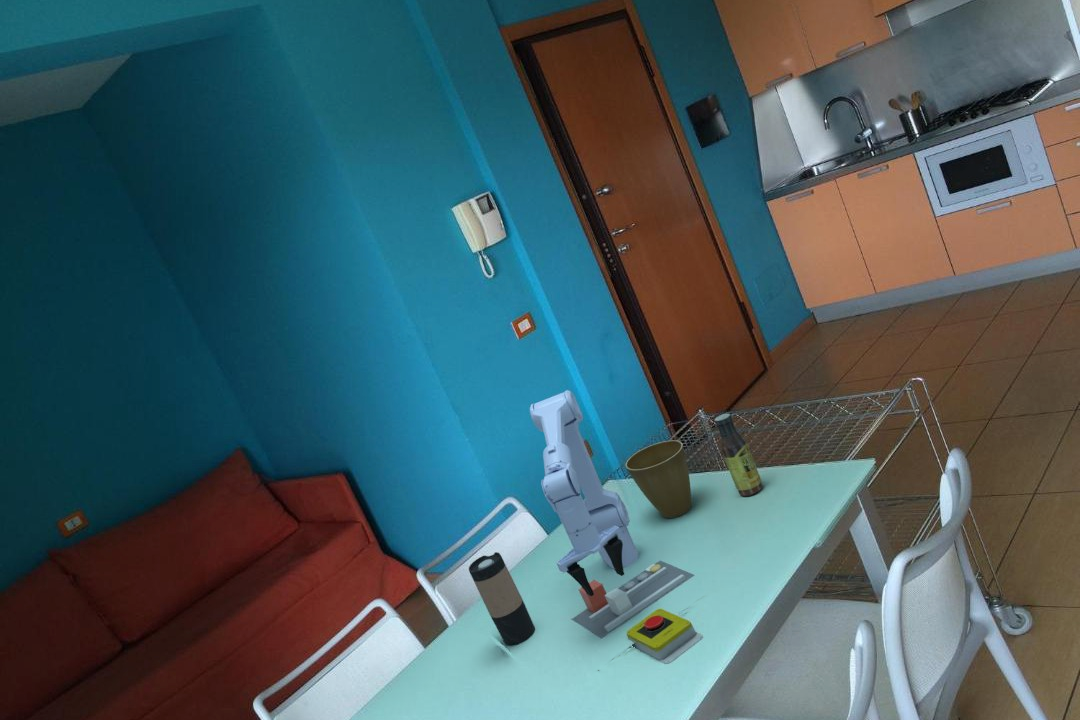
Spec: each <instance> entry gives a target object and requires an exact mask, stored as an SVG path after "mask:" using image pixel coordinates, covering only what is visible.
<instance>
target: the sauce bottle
mask: <svg viewBox="0 0 1080 720" xmlns="http://www.w3.org/2000/svg"><path fill="white" fill-rule="evenodd" d="M714 423H715V425H716V427H717V429H718V431H719V434H720V436H721V438H720V445H719V446H720V450H721V453H722V455H723V458H724V460H725V463H726V466H727V468H728V471H729V473H730V476H731V479H732V481H733V484H734V485H735V489H736V490H737V491H738V494H739V495H740V496H742V497H749V496H753V495H755V494H757V493H758V492H760V491H761V490H762V489H763V483H762V478H761V476H760V473H759V470H758V468H757V465H756V463H755V461H754V458H753V455H752V453H751V451H750V447H749V446H748V445H749V444H748V443H747V441H746V440H745V439H744V438H743V437H742V435H741V434H740V433H739V431H737V429H736V427H735V424H734V422H733V417H732V415H731V414H730V413H722V414H721V415H718V416H716V417H715V419H714Z"/></svg>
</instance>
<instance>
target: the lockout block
mask: <svg viewBox="0 0 1080 720" xmlns="http://www.w3.org/2000/svg"><path fill="white" fill-rule="evenodd" d="M588 582H589V581H588ZM589 584H590V586H591V588H592V590H593V593H594V595H593V596H590V595H588V594H587V593H586V592H585V590H584V589H583V588H582V587H580V588H579V589H578V591H579V593H580V596H581V598H582V600H583V602H584V604H585V606H586V607H585V608H586V609H588V610H589V611H591V612H593V613H595V612H597V611H598V610H600V609H601V608H603V607H605V606H606V605H608V602H607V600H606V598H605V595H606V594H607V593H608V592H607V591H606V589H605V587H604V585H603V583H601V582H599V581H597V580H595V579H592V580H591V581H590V582H589Z"/></svg>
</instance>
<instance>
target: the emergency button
mask: <svg viewBox="0 0 1080 720" xmlns="http://www.w3.org/2000/svg"><path fill="white" fill-rule="evenodd" d="M625 633H626V637H627V639H628V640H630V641H631V642H633V643H632V644H631V645H632V646H633V647H632V646H631V647H632V648H634V647H635V648H634V649H635V650H638V651H639V650H640V652H641V651H642V653H643V654H645V653H646V654H645V655H647V656H649V657H651V658H653V659H655V660H657V661H658V662H660V663H662V664H664V665H665V664H666V665H668V664H671V663H673V662H674V661H675V660H677V659H678V658H679V657H680V656H682V655H683V654H685V653H686V652H688V651H689V650H691V648H693V647H694V646H695V645H696V644H697V643H699V642H700V641H702V640H703V638H704V635H703V634H701V633H699V632H697V631H696V630H695V628H694V626H693V624H692V623H691V621H690V620H688V619H686V618H684V617H681V616H679V615H677V614H675V613H672V612H670V611H667V610H665V609H664V608H657V609H656V610H654V611H653V612H652V613H650V614H648V615H647V616H646V617H644V618H643V619H642V620H640V621H639V622H637V623H636V624H634V626H632V627H631V628H629V629H628V630H626V632H625Z"/></svg>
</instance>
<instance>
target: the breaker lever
mask: <svg viewBox="0 0 1080 720" xmlns="http://www.w3.org/2000/svg"><path fill="white" fill-rule="evenodd" d="M618 588H619V587H614V589H612V590H610V591H608V592H606V593H607V594H606V595H605V598H606V600H607V602H608V604H609V606H610V609H611V611H612V612H613V613H615V614H617V615H618V616H620V615H622V614H623V613H625V612H626V611H628V610H629V609H631V608H632V605H631V602H630V600H629V598H628V596H627V594H626V593H625V592H623V591H622V590H620V589H618Z"/></svg>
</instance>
